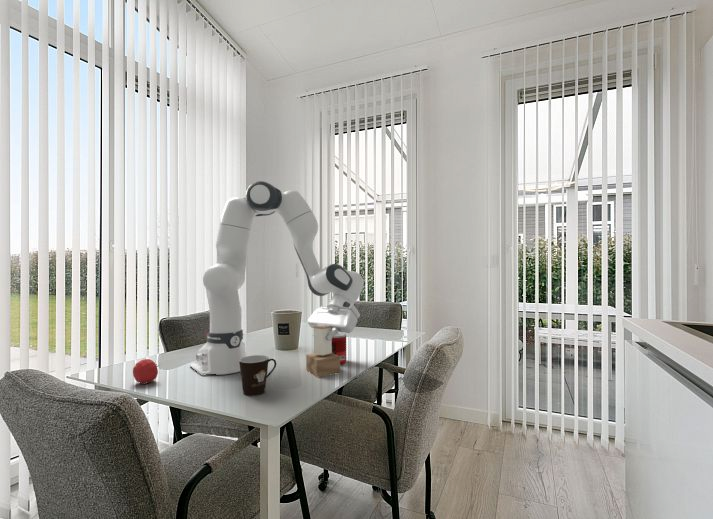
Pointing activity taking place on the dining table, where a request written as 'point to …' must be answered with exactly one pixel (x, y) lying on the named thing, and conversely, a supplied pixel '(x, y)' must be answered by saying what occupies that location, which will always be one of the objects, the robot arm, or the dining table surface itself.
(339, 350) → the canned food
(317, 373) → the block
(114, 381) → the dining table surface
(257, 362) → the coffee mug
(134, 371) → the tomato
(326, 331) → the pink-rimmed square pillar
